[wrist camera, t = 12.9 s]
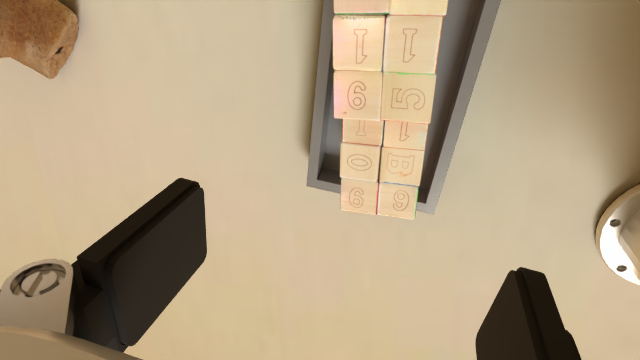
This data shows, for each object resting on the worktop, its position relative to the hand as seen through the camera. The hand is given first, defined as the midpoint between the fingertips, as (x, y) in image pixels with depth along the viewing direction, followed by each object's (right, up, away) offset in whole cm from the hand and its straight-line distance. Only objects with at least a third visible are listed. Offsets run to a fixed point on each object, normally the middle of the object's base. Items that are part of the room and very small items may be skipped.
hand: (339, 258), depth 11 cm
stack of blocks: (+6, +13, +22) cm, 26 cm away
